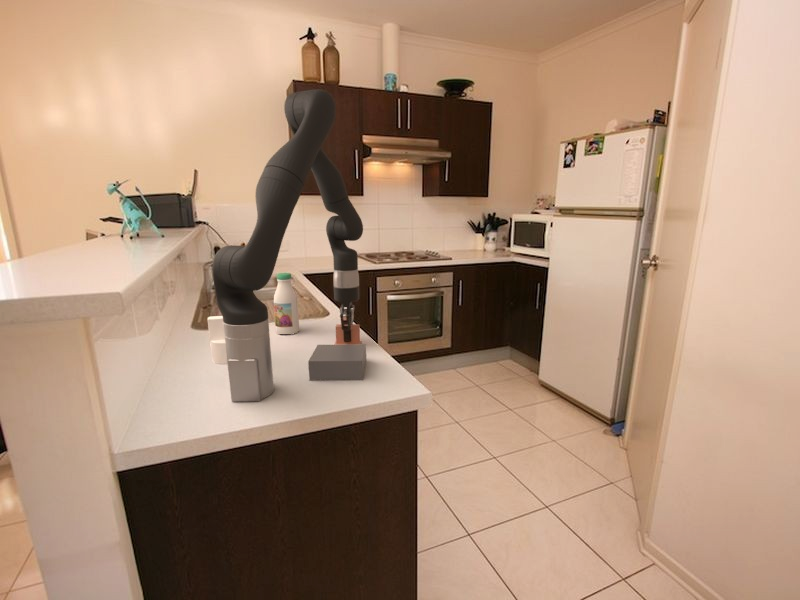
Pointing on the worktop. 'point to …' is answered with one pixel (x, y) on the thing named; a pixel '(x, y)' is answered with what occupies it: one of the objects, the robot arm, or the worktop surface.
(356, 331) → the peach l-shaped block
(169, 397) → the worktop surface
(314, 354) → the grey square block
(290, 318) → the milk bottle
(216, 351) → the base with upright slab
